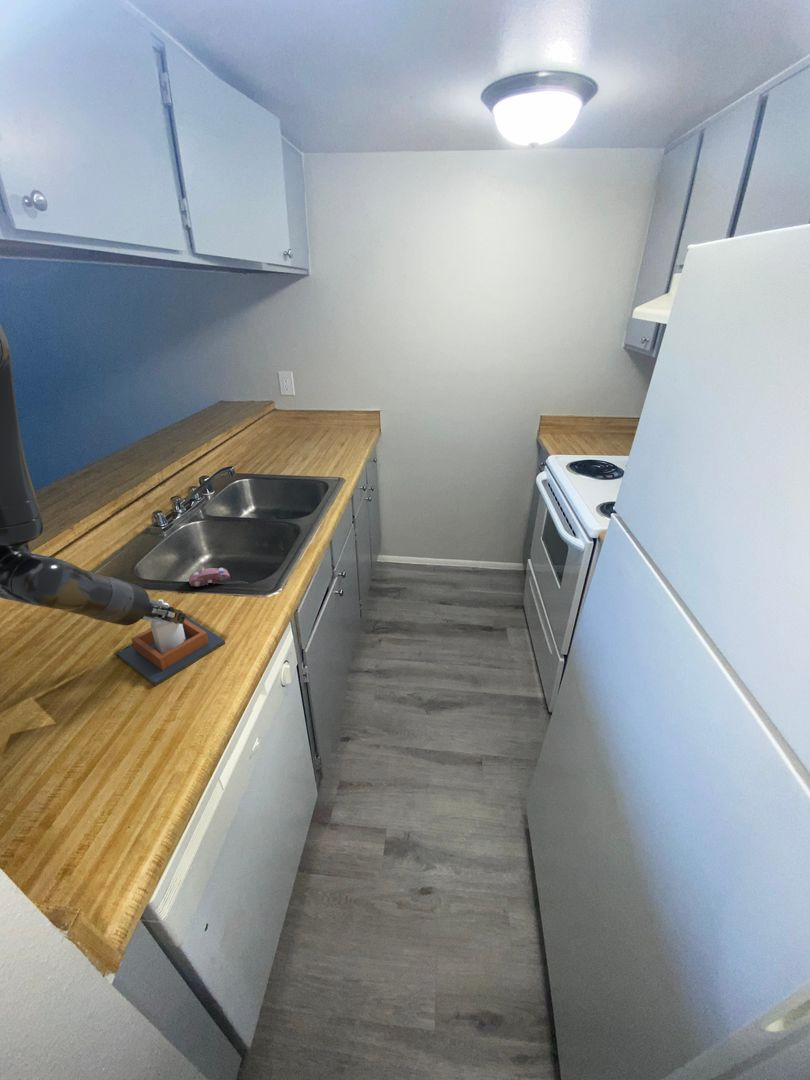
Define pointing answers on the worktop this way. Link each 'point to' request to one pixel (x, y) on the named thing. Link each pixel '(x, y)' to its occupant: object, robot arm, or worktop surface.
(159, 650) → the eye dropper bottle
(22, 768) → the worktop surface
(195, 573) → the pink toy car
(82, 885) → the worktop surface
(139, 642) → the socket pad
